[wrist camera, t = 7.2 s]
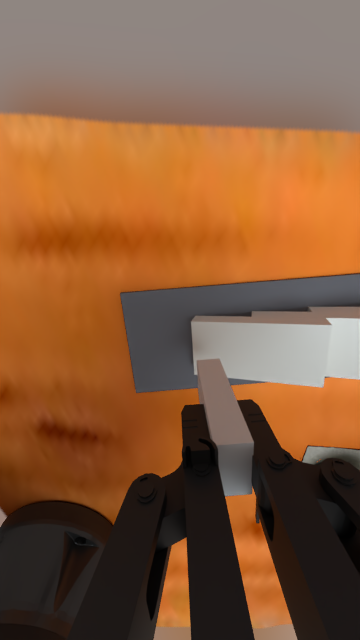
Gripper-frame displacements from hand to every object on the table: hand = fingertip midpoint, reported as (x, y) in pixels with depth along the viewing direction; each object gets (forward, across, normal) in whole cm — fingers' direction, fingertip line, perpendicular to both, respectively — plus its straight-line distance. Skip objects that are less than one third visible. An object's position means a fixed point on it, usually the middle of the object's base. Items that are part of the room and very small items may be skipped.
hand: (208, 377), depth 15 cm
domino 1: (+5, 0, 0) cm, 5 cm away
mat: (+6, +10, 0) cm, 11 cm away
